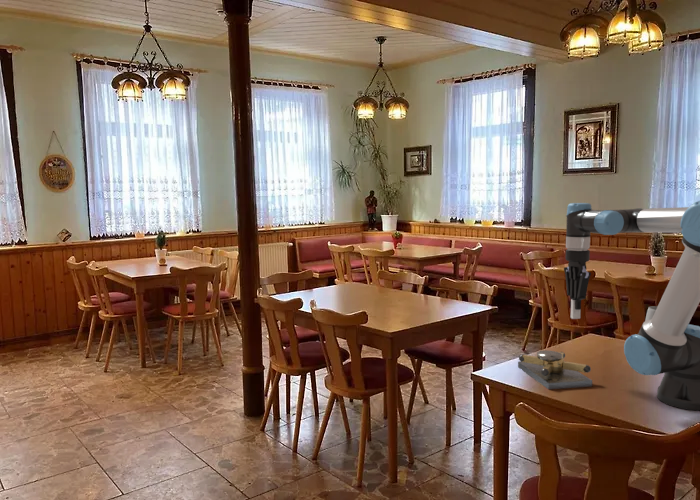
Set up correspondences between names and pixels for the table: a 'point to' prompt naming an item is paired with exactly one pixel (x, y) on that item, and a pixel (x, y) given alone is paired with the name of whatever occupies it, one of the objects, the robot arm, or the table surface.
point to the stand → (556, 377)
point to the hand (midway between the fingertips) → (575, 318)
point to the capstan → (553, 362)
